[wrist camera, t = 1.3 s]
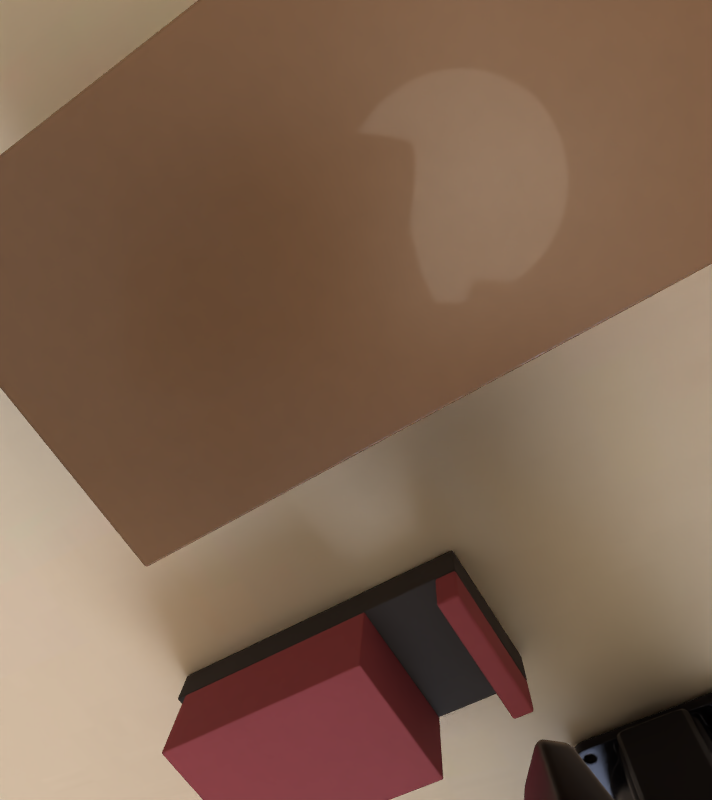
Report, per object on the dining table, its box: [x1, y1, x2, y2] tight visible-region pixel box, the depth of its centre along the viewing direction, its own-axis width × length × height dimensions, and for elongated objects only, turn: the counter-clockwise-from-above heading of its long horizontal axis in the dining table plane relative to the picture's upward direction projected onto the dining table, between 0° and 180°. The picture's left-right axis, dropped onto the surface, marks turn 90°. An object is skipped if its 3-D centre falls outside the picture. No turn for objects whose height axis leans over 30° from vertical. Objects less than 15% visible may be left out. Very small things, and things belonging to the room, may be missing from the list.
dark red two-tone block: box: [162, 551, 533, 800], centre depth 23 cm, size 5×12×4 cm, turn 122°
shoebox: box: [0, 0, 712, 566], centre depth 16 cm, size 9×16×7 cm, turn 122°
